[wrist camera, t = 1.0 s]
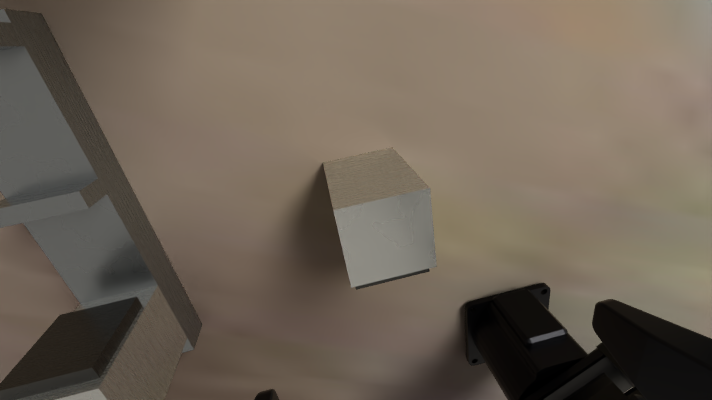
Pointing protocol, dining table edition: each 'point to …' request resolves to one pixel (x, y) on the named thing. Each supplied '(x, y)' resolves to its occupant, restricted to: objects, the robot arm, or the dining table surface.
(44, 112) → the rail
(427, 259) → the block
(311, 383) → the dining table surface
